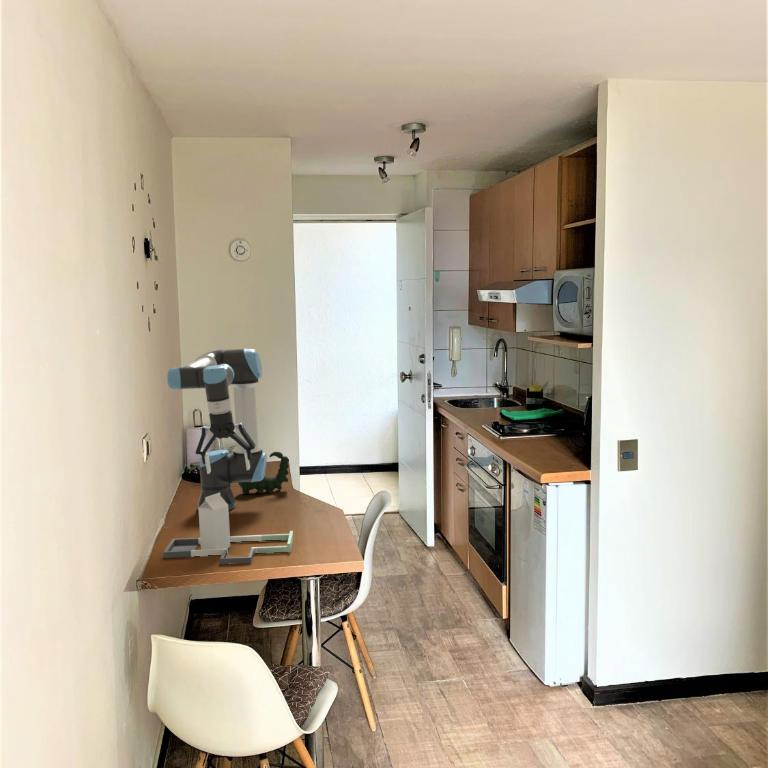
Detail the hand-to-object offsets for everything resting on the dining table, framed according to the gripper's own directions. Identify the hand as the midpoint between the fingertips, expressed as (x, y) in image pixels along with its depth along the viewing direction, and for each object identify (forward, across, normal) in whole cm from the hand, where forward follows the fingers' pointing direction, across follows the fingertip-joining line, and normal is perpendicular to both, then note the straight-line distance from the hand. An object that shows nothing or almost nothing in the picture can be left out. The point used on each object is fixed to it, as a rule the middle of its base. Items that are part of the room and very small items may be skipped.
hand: (228, 470), depth 265 cm
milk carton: (+25, -7, -7) cm, 27 cm away
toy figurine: (+34, -3, +66) cm, 74 cm away
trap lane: (+25, -1, -12) cm, 28 cm away
